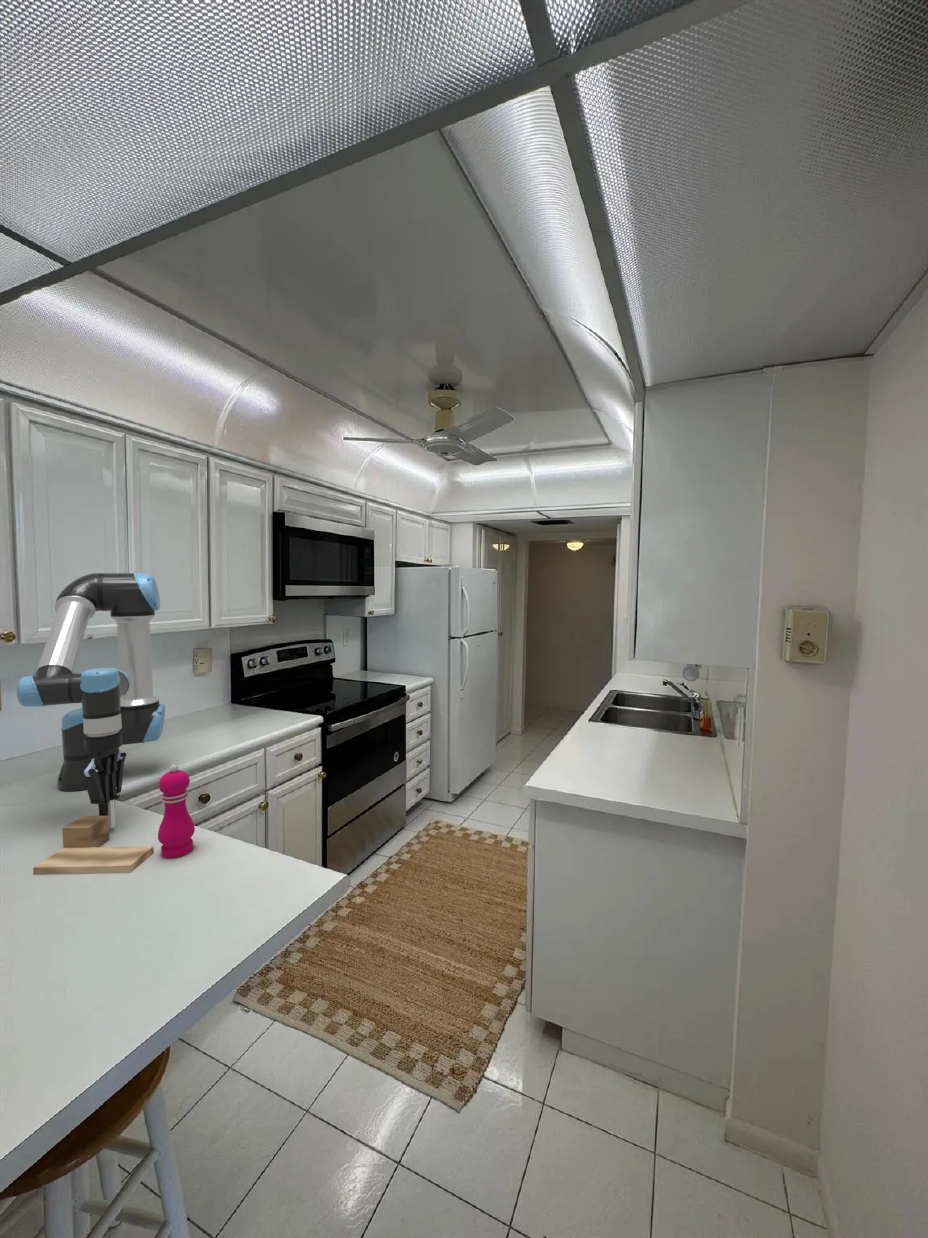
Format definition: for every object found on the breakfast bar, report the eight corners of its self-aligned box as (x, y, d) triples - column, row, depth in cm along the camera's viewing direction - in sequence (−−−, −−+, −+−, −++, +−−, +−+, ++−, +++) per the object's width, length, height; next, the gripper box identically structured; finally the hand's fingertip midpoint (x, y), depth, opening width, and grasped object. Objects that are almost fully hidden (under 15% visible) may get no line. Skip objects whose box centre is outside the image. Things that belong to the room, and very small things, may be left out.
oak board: (64, 856, 111) (63, 847, 111) (153, 854, 112) (153, 846, 111) (33, 877, 103) (33, 867, 103) (130, 875, 104) (130, 865, 103)
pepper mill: (202, 843, 115) (199, 759, 114) (181, 860, 108) (177, 770, 107) (173, 842, 116) (169, 758, 115) (150, 859, 109) (146, 769, 108)
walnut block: (84, 840, 117) (82, 816, 117) (109, 840, 117) (108, 815, 117) (63, 854, 111) (62, 828, 111) (90, 853, 111) (88, 828, 111)
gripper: (105, 725, 126) (110, 815, 128) (66, 741, 113) (72, 841, 115) (135, 724, 127) (140, 814, 128) (100, 740, 114) (105, 840, 115)
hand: (108, 827), depth 121 cm, fingers closed
